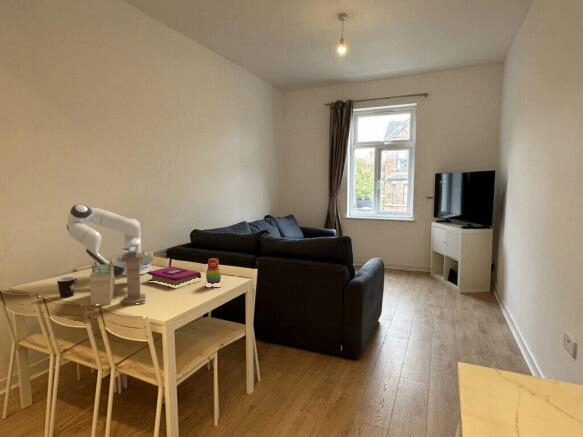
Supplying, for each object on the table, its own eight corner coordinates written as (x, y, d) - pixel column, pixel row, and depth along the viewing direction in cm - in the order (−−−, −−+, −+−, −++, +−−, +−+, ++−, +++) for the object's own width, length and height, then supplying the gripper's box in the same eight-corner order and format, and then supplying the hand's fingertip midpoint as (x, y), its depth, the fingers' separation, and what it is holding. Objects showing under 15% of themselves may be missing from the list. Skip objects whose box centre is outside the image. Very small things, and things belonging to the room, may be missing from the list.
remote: (130, 250, 194) (130, 244, 194) (137, 249, 195) (137, 244, 195) (127, 258, 174) (127, 252, 173) (136, 257, 175) (135, 251, 175)
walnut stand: (123, 299, 187) (122, 253, 185) (145, 297, 191) (144, 252, 189) (122, 306, 177) (120, 257, 175) (144, 303, 181) (143, 256, 179)
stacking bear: (203, 288, 210) (203, 260, 208) (206, 283, 220) (205, 256, 218) (221, 287, 211) (221, 260, 209) (222, 283, 221) (222, 256, 219)
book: (173, 275, 239) (173, 264, 239) (201, 281, 225) (201, 270, 224) (147, 282, 222) (146, 271, 221) (175, 289, 207) (175, 277, 206)
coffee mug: (62, 299, 186) (61, 282, 185) (55, 296, 190) (54, 279, 189) (84, 294, 195) (83, 277, 194) (77, 291, 200) (76, 275, 199)
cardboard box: (97, 293, 196) (96, 259, 194) (114, 292, 200) (113, 258, 198) (91, 306, 176) (89, 268, 174) (110, 304, 180) (109, 266, 177)
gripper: (117, 256, 208) (114, 248, 196) (153, 254, 215) (152, 247, 204) (117, 266, 205) (114, 259, 194) (153, 263, 213) (153, 256, 201)
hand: (134, 252), depth 199 cm, fingers open, 8 cm apart
